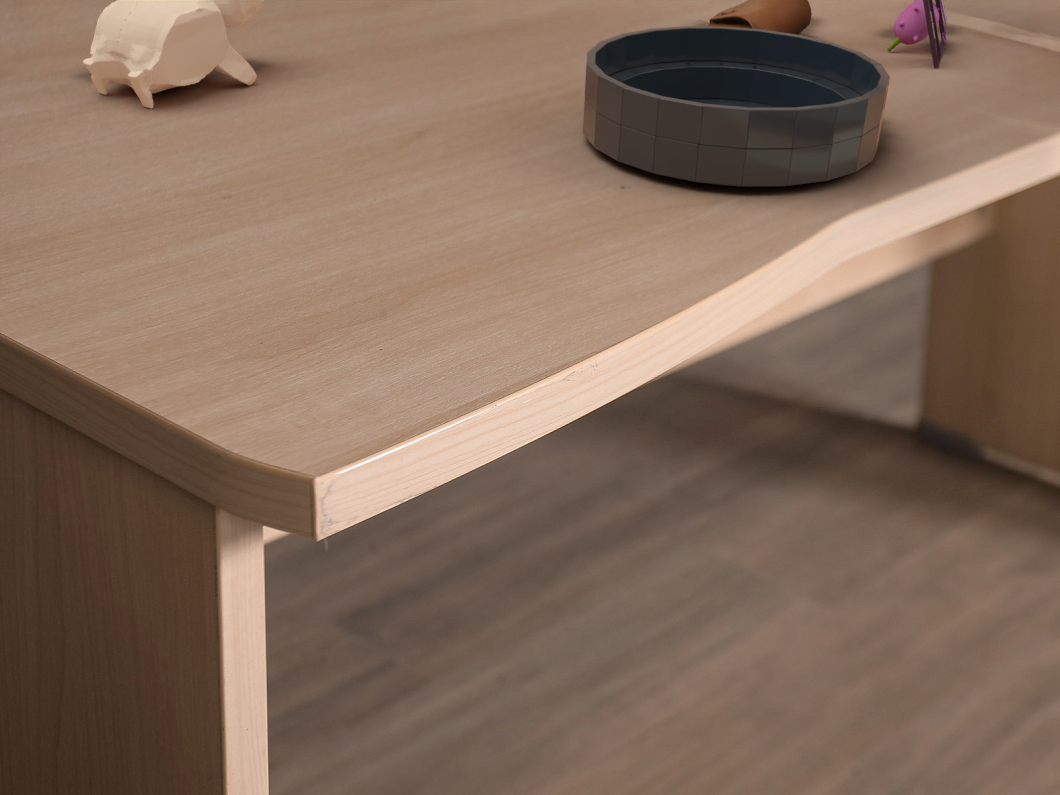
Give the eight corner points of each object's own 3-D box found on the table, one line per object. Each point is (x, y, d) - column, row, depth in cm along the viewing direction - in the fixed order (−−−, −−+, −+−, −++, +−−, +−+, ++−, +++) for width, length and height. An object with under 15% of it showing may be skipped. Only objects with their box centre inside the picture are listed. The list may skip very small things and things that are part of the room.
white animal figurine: (181, 148, 90) (309, 35, 98) (132, 49, 84) (272, -64, 91) (105, 124, 95) (234, 17, 102) (53, 28, 88) (194, -79, 95)
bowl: (936, 156, 85) (952, 76, 82) (728, 220, 74) (739, 131, 71) (725, 83, 98) (733, 13, 95) (523, 128, 87) (525, 51, 84)
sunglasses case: (719, 17, 115) (763, -43, 111) (778, 64, 115) (824, 6, 111) (661, 65, 100) (709, -2, 96) (729, 119, 100) (779, 54, 96)
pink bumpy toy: (935, -15, 101) (943, -36, 108) (870, 0, 103) (883, -21, 110) (947, 65, 103) (955, 40, 111) (884, 78, 106) (896, 53, 113)
